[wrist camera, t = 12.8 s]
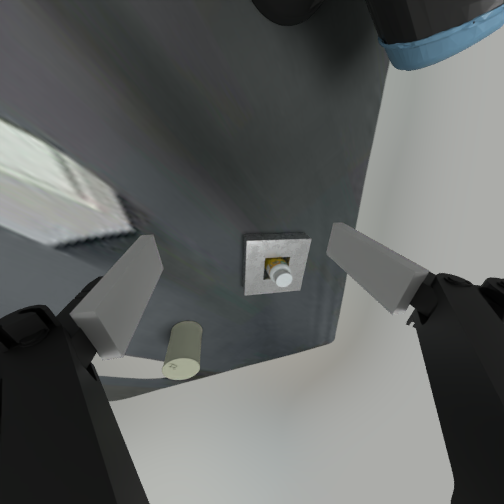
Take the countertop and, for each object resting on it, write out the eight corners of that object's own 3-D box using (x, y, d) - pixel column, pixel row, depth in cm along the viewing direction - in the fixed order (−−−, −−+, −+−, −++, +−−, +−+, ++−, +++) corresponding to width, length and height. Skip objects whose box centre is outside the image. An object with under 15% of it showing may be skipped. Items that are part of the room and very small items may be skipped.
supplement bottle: (261, 268, 49) (271, 290, 41) (263, 251, 47) (274, 271, 39) (279, 267, 50) (292, 289, 42) (282, 250, 48) (297, 270, 40)
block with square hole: (244, 234, 44) (246, 240, 40) (304, 232, 47) (311, 238, 43) (242, 286, 51) (244, 295, 48) (294, 281, 54) (300, 290, 51)
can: (185, 316, 52) (178, 355, 42) (208, 329, 57) (207, 367, 46) (164, 333, 54) (152, 375, 44) (188, 344, 58) (183, 385, 48)
